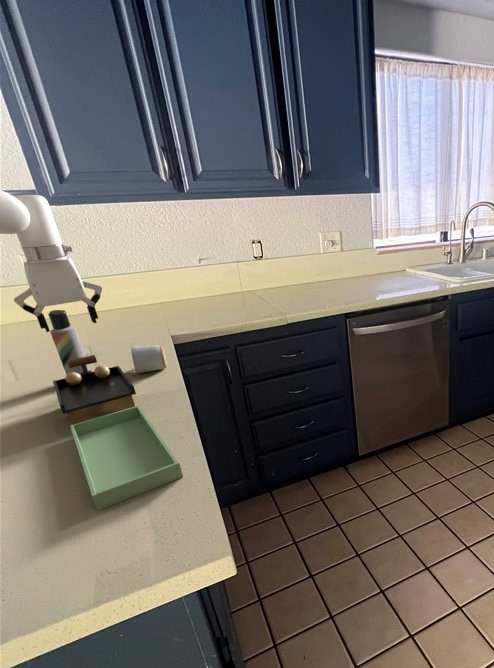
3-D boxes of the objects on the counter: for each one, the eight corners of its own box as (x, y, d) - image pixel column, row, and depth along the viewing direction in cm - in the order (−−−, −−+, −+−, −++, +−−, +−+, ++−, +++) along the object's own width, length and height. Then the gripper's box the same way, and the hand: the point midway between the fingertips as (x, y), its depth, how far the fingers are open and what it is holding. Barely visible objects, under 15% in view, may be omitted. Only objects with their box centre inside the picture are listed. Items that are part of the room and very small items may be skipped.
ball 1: (61, 375, 100) (62, 379, 103) (70, 385, 100) (72, 389, 103) (74, 367, 102) (76, 372, 105) (84, 377, 102) (85, 382, 105)
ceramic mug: (168, 371, 124) (161, 346, 121) (136, 377, 121) (129, 351, 118) (168, 360, 133) (161, 337, 130) (138, 366, 129) (131, 341, 126)
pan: (63, 414, 90) (54, 391, 88) (54, 383, 106) (46, 364, 104) (136, 394, 98) (129, 373, 96) (117, 368, 114) (111, 350, 112)
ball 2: (90, 368, 104) (91, 373, 106) (100, 378, 104) (100, 382, 106) (103, 361, 105) (104, 366, 108) (112, 370, 106) (113, 375, 108)
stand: (71, 426, 95) (64, 408, 93) (65, 406, 105) (58, 389, 103) (135, 407, 102) (130, 390, 101) (124, 390, 112) (118, 374, 111)
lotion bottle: (85, 375, 124) (61, 307, 116) (97, 378, 121) (73, 309, 113) (64, 382, 119) (38, 312, 111) (77, 385, 117) (50, 314, 109)
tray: (97, 510, 68) (91, 496, 67) (74, 437, 90) (69, 425, 89) (183, 476, 76) (179, 462, 74) (142, 416, 98) (138, 405, 97)
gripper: (87, 248, 105) (109, 316, 112) (-3, 257, 95) (27, 331, 102) (91, 250, 99) (114, 321, 106) (-4, 260, 90) (28, 338, 97)
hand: (71, 326), depth 104 cm, fingers open, 9 cm apart
